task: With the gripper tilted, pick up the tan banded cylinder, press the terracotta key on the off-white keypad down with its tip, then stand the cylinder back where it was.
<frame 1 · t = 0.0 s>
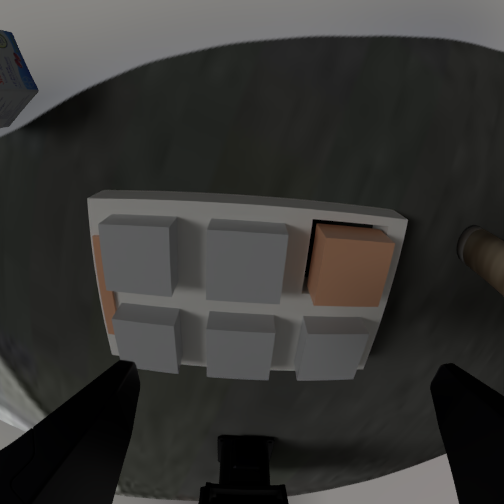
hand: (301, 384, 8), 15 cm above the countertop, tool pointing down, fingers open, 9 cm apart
keypad: (243, 281, 23), on the countertop
medicine box: (10, 77, 16), on the countertop
tan banded cylinder: (471, 244, 22), on the countertop
terracotta key: (348, 265, 19), point 3 cm above the countertop, slide at 0.0 cm
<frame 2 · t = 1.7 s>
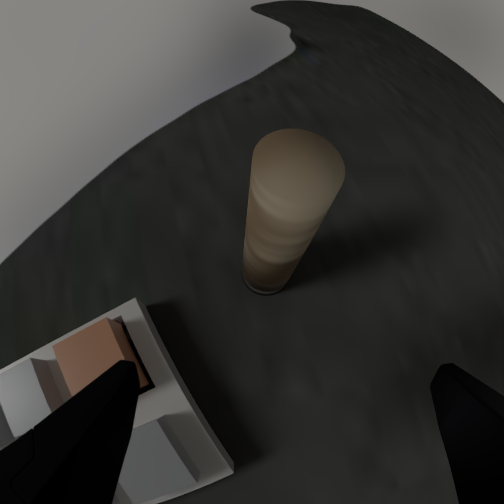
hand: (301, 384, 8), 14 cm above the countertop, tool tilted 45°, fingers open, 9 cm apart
keypad: (72, 436, 17), on the countertop
tan banded cylinder: (265, 272, 23), on the countertop
terracotta key: (99, 366, 17), point 3 cm above the countertop, slide at 0.0 cm
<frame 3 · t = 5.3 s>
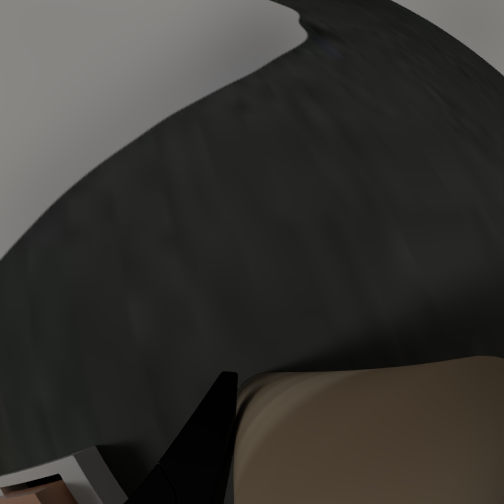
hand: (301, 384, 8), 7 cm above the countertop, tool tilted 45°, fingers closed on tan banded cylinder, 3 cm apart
tan banded cylinder: (270, 407, 13), on the countertop, touching gripper
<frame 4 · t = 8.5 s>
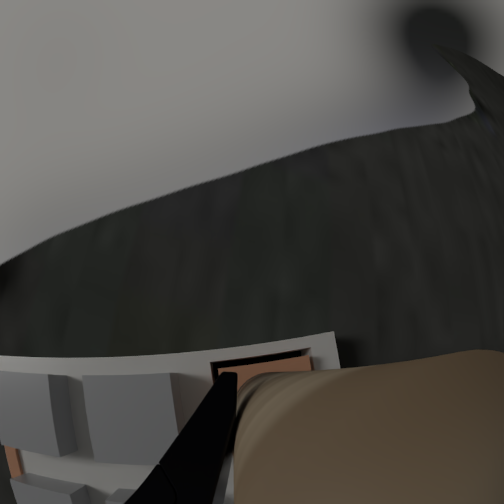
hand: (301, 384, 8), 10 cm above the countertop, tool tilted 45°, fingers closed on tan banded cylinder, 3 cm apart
keypad: (162, 461, 15), on the countertop
tan banded cylinder: (270, 407, 13), point 3 cm above the countertop, touching gripper, terracotta key
terracotta key: (267, 403, 15), point 2 cm above the countertop, slide at 1.2 cm, touching tan banded cylinder
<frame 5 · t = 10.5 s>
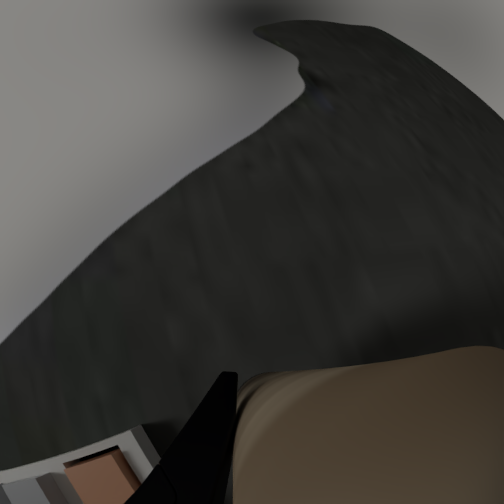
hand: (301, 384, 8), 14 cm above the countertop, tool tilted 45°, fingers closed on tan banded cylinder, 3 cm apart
tan banded cylinder: (270, 407, 13), point 7 cm above the countertop, touching gripper
terracotta key: (109, 485, 15), point 2 cm above the countertop, slide at 1.2 cm
when the fingers open (8 cm above the countertop, at t = 12.2 s): tan banded cylinder stays where it is, on the countertop.
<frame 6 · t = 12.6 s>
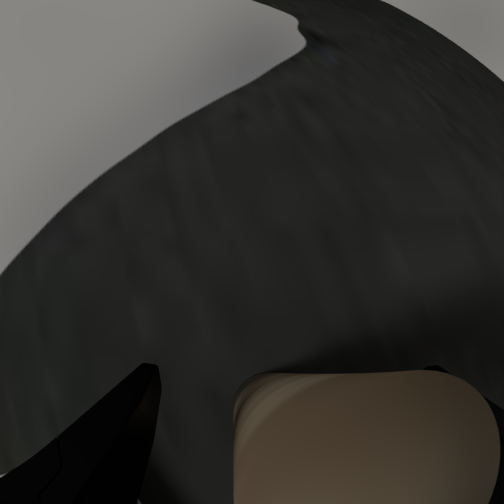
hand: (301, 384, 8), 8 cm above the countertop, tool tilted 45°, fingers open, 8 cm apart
tan banded cylinder: (268, 405, 14), on the countertop
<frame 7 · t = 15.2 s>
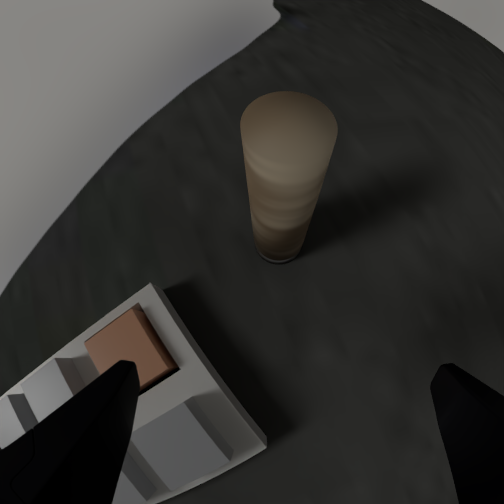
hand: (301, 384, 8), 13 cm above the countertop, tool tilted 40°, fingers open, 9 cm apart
keypad: (105, 430, 19), on the countertop
tan banded cylinder: (278, 241, 23), on the countertop
terracotta key: (131, 355, 19), point 2 cm above the countertop, slide at 1.2 cm
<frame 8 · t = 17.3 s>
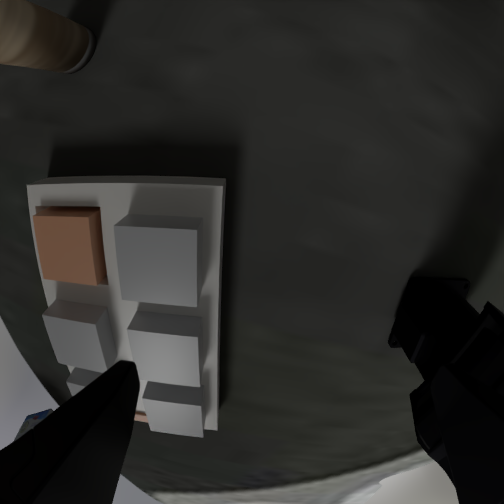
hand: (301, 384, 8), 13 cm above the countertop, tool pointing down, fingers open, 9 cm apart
keypad: (136, 315, 22), on the countertop
medicine box: (50, 420, 30), on the countertop
tan banded cylinder: (74, 50, 15), on the countertop
terracotta key: (72, 243, 18), point 2 cm above the countertop, slide at 1.2 cm
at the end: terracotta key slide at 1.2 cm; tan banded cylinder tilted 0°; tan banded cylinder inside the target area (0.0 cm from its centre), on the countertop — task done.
